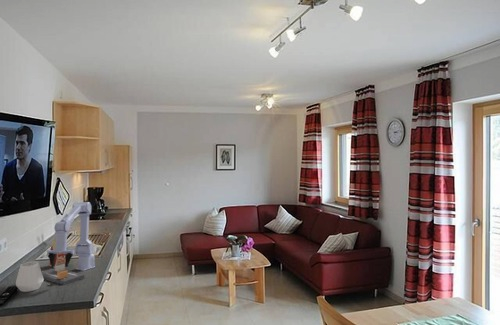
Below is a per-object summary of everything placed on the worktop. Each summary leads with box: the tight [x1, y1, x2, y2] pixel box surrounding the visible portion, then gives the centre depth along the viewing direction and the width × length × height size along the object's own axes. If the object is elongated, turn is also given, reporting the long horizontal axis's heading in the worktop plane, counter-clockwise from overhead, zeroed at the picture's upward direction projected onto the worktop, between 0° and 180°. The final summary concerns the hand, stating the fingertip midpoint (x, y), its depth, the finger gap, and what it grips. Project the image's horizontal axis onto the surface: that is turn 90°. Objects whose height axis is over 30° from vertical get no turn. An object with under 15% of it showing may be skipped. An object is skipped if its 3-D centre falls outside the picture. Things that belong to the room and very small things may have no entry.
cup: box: [15, 261, 45, 293], centre depth 202 cm, size 13×13×14 cm
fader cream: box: [54, 263, 66, 272], centre depth 226 cm, size 4×3×4 cm, turn 150°
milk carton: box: [48, 236, 66, 269], centre depth 245 cm, size 9×9×20 cm
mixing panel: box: [42, 269, 85, 286], centre depth 220 cm, size 13×26×2 cm, turn 60°
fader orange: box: [57, 269, 69, 279], centre depth 213 cm, size 4×3×4 cm, turn 150°
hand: (59, 266), depth 208 cm, fingers open, 7 cm apart
